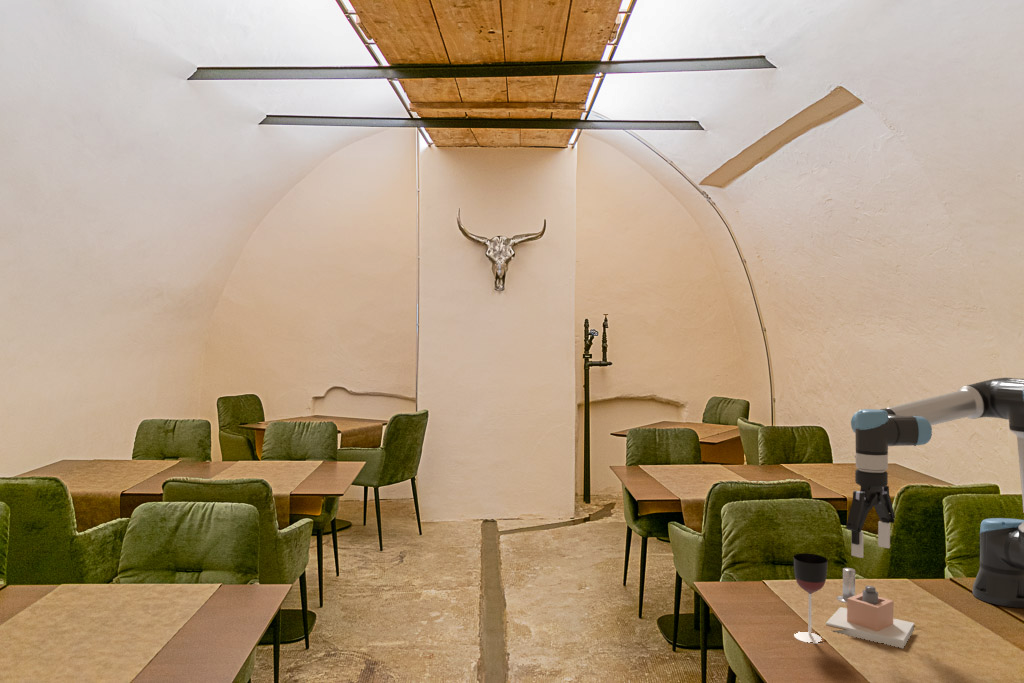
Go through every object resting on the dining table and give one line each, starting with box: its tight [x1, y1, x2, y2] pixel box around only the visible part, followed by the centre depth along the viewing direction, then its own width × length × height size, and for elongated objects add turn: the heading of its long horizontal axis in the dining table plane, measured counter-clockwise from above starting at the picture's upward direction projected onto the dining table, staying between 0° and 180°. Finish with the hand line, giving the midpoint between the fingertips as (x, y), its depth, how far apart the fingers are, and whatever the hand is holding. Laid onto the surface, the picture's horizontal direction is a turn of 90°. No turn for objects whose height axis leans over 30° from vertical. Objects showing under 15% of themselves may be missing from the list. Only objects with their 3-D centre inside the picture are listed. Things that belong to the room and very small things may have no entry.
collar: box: [846, 591, 894, 631], centre depth 193 cm, size 8×8×6 cm
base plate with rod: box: [825, 585, 915, 649], centre depth 193 cm, size 18×14×11 cm
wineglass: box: [793, 552, 828, 644], centre depth 189 cm, size 8×9×20 cm
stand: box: [835, 567, 856, 604], centre depth 211 cm, size 7×7×10 cm
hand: (870, 551), depth 193 cm, fingers open, 13 cm apart
